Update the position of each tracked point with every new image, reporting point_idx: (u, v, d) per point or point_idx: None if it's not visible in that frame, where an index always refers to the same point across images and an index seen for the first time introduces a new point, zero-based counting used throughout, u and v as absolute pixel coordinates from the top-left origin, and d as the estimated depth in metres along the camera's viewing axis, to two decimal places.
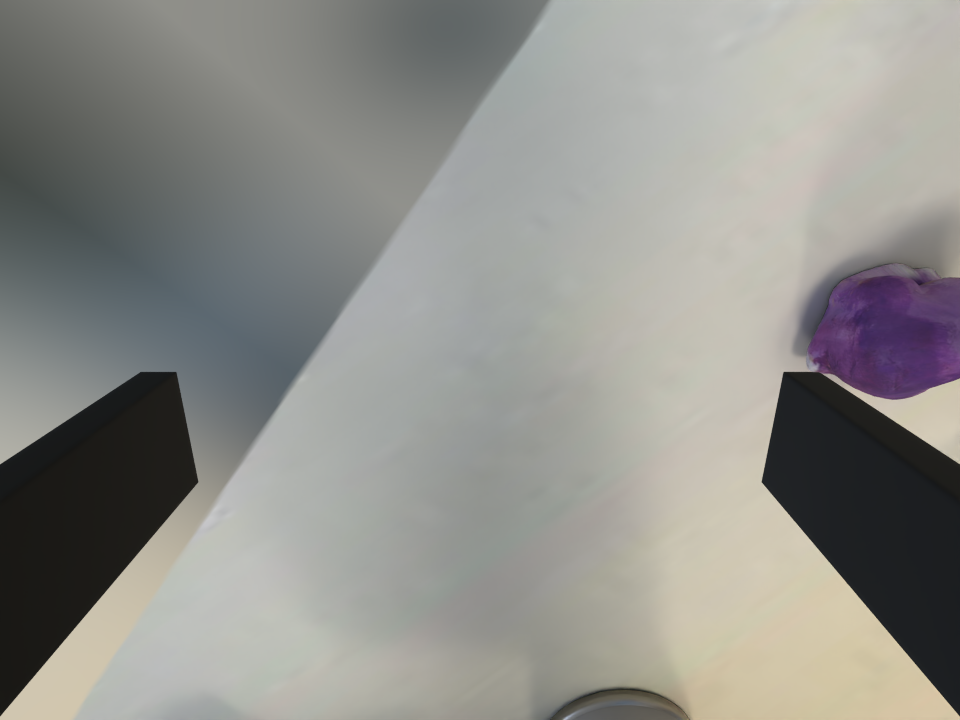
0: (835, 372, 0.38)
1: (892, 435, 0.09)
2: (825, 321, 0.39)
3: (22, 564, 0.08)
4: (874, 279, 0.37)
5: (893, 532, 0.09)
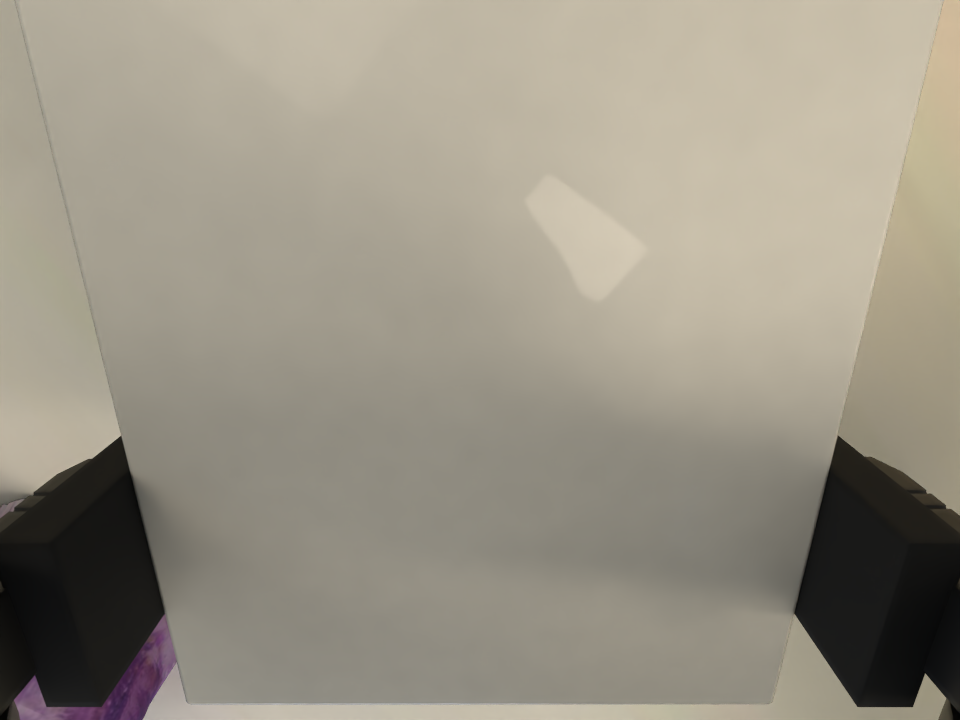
0: None
1: None
2: None
3: None
4: None
5: None
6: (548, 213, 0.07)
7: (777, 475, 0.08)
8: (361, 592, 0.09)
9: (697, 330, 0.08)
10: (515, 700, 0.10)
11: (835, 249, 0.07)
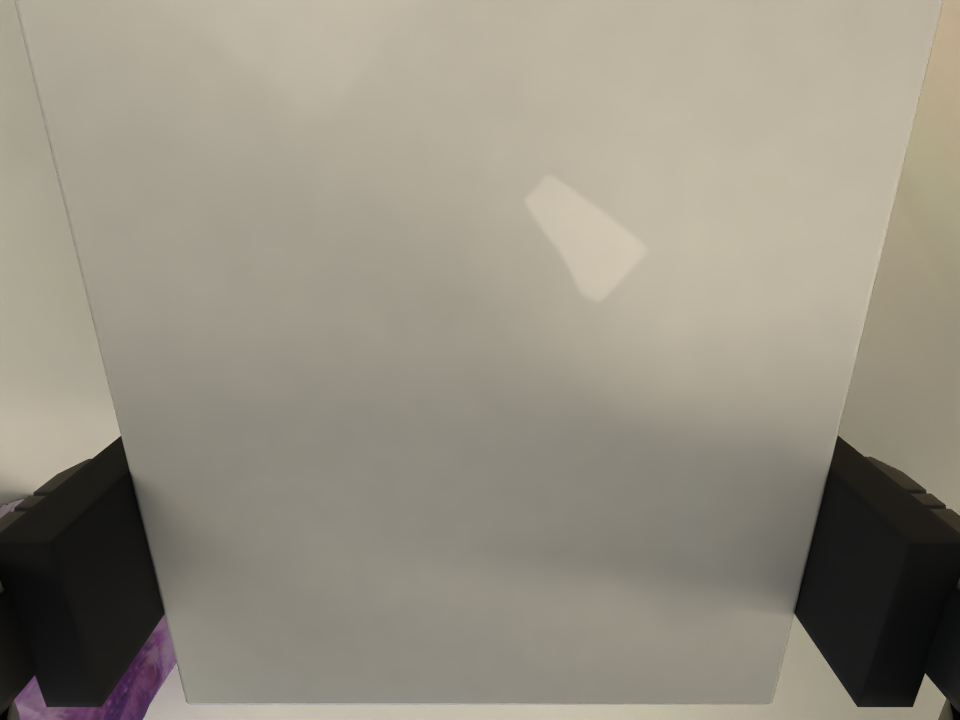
0: None
1: None
2: None
3: None
4: None
5: None
6: (548, 213, 0.07)
7: (777, 474, 0.08)
8: (361, 592, 0.09)
9: (697, 330, 0.08)
10: (515, 700, 0.10)
11: (835, 249, 0.07)
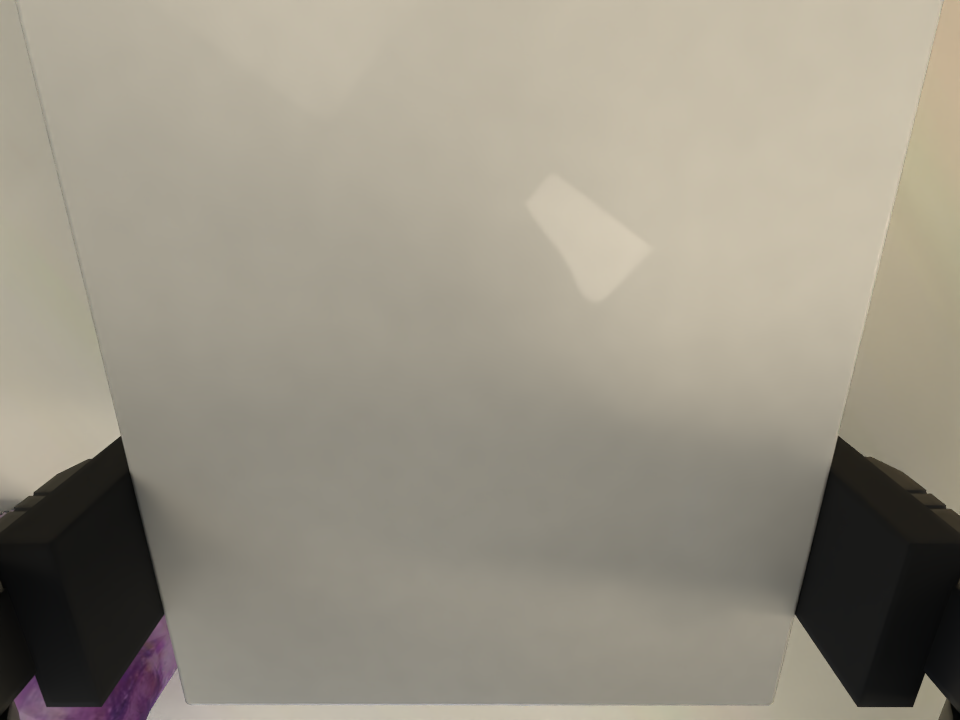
0: None
1: None
2: None
3: None
4: None
5: None
6: (548, 212, 0.07)
7: (777, 474, 0.08)
8: (360, 592, 0.09)
9: (697, 330, 0.08)
10: (515, 701, 0.10)
11: (835, 248, 0.07)
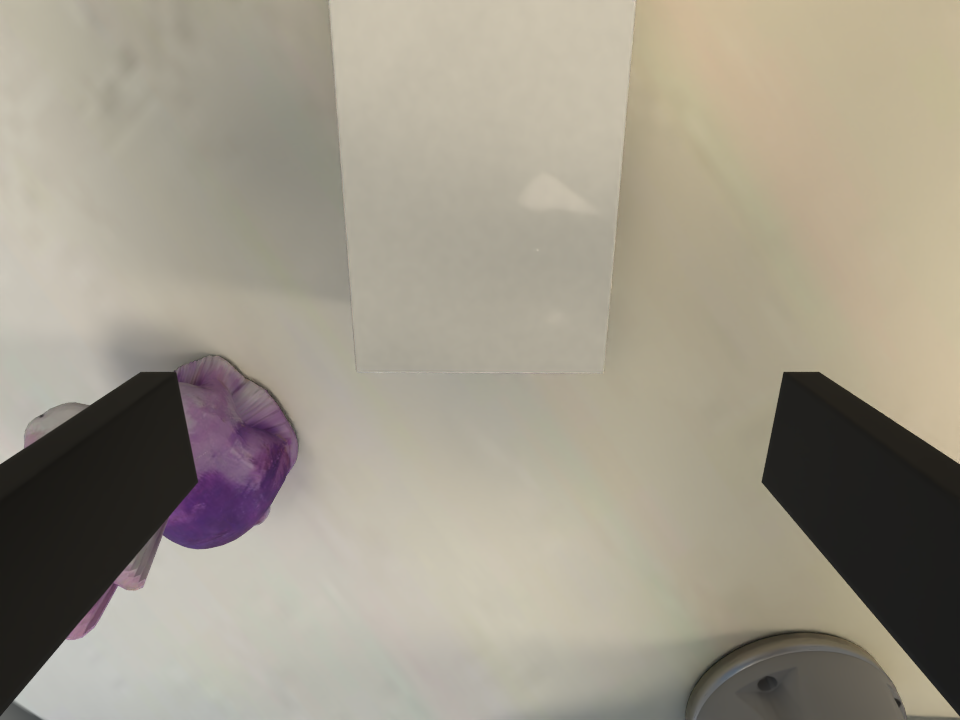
0: None
1: (892, 435, 0.09)
2: None
3: (22, 564, 0.08)
4: None
5: (894, 533, 0.09)
6: (504, 158, 0.21)
7: (593, 261, 0.22)
8: (433, 315, 0.23)
9: (558, 202, 0.21)
10: (495, 370, 0.24)
11: (604, 172, 0.21)
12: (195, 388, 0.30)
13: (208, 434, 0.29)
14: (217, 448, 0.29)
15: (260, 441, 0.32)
